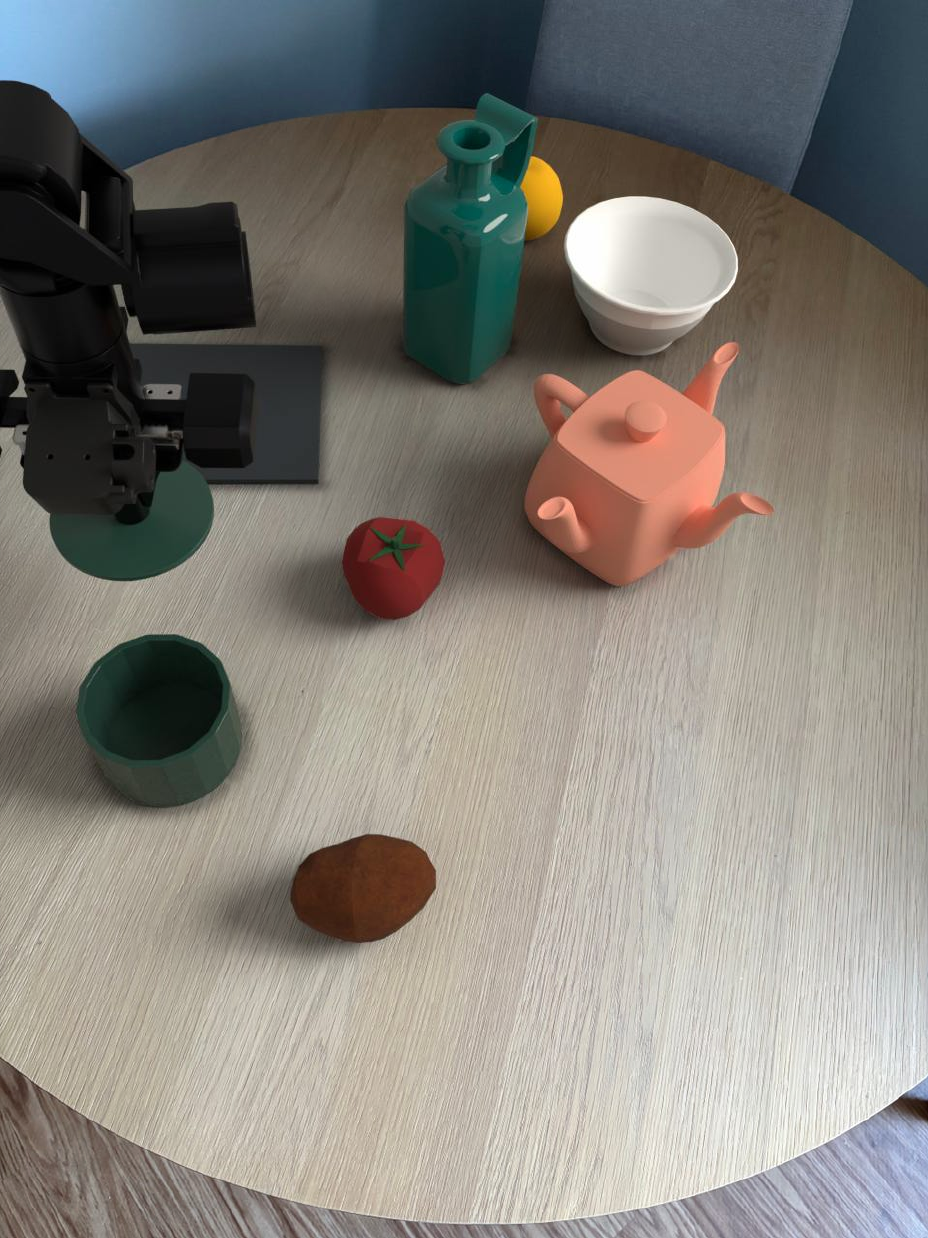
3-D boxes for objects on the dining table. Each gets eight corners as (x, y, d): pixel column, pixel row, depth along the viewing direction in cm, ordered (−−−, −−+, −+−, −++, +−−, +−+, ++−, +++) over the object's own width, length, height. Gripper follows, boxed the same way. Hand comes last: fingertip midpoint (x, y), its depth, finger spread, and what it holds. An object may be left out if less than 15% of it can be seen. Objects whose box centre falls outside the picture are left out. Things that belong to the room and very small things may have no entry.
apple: (568, 247, 108) (579, 183, 101) (494, 257, 106) (501, 192, 100) (544, 198, 112) (554, 133, 105) (473, 207, 110) (478, 142, 104)
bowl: (705, 273, 107) (728, 200, 100) (722, 387, 98) (749, 317, 91) (550, 263, 106) (561, 189, 99) (553, 377, 98) (566, 306, 91)
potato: (304, 845, 73) (297, 810, 67) (437, 855, 73) (441, 822, 68) (289, 947, 69) (280, 919, 64) (430, 958, 69) (433, 931, 64)
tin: (92, 809, 73) (66, 768, 67) (110, 682, 78) (87, 634, 73) (237, 805, 74) (224, 765, 68) (245, 680, 79) (234, 633, 73)
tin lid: (40, 586, 70) (15, 536, 65) (67, 459, 76) (45, 405, 71) (208, 586, 71) (195, 537, 66) (221, 461, 76) (210, 407, 72)
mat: (102, 483, 88) (101, 479, 88) (125, 347, 97) (124, 342, 96) (318, 483, 90) (318, 479, 89) (322, 349, 98) (322, 344, 97)
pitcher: (465, 393, 96) (483, 183, 77) (393, 350, 98) (394, 135, 80) (526, 336, 100) (557, 123, 82) (456, 296, 103) (471, 80, 84)
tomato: (453, 566, 86) (458, 512, 80) (421, 646, 82) (423, 595, 76) (361, 539, 87) (359, 483, 81) (325, 616, 83) (320, 564, 77)
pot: (732, 609, 85) (781, 516, 75) (520, 604, 84) (540, 509, 74) (702, 436, 95) (741, 332, 85) (511, 430, 94) (527, 324, 83)
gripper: (-144, 435, 53) (-38, 601, 66) (229, 439, 55) (260, 601, 68) (-91, 285, 59) (-4, 465, 72) (244, 292, 60) (270, 468, 74)
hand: (128, 501), depth 71 cm, fingers closed on tin lid, 2 cm apart
